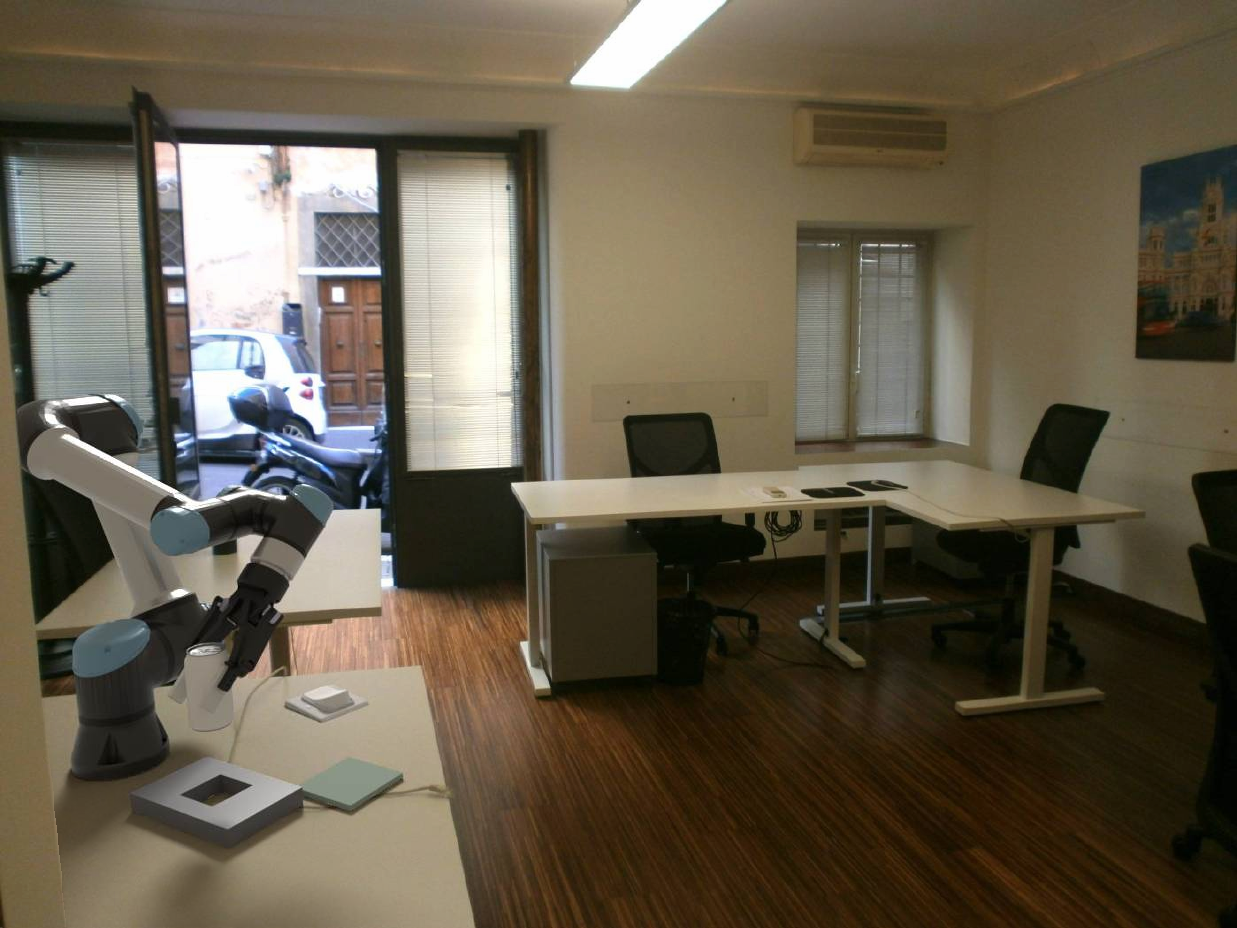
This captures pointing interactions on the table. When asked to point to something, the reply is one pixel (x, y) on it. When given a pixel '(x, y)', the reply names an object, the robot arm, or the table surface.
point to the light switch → (326, 703)
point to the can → (206, 686)
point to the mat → (349, 783)
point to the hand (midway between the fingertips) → (190, 704)
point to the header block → (228, 820)
